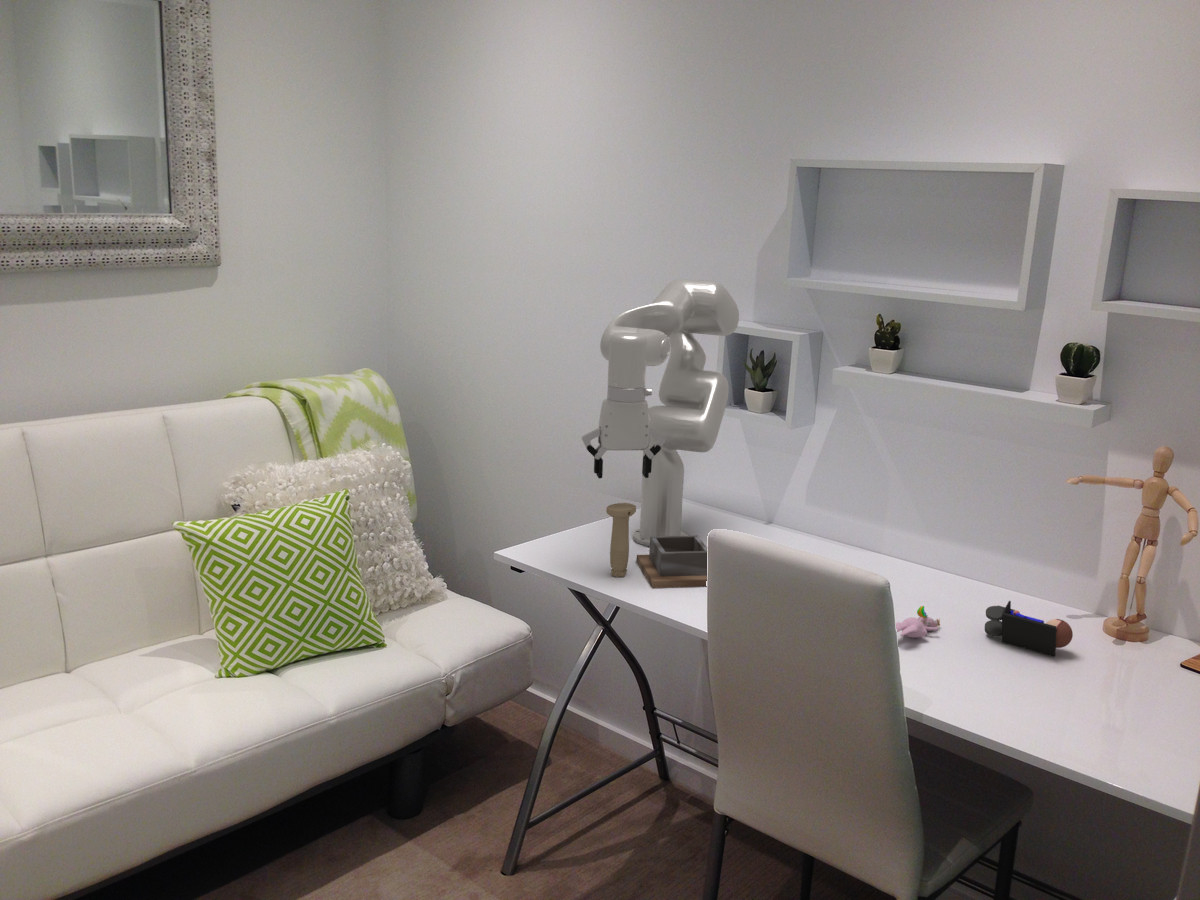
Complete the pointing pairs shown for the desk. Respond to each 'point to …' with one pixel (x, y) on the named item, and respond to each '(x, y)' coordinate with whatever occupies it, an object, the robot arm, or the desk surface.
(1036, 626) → the character figurine
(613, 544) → the handle
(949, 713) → the desk surface
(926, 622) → the pink unicorn toy
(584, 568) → the desk surface
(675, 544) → the stand
